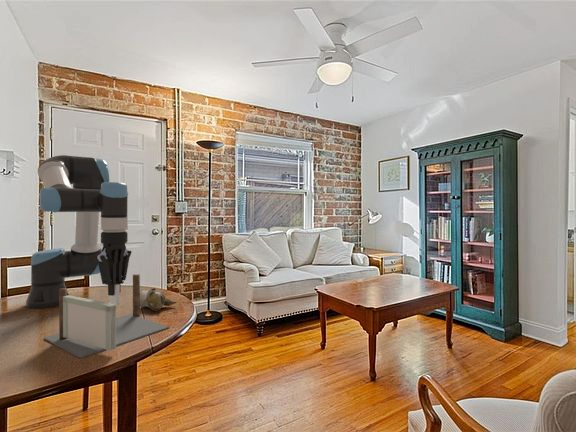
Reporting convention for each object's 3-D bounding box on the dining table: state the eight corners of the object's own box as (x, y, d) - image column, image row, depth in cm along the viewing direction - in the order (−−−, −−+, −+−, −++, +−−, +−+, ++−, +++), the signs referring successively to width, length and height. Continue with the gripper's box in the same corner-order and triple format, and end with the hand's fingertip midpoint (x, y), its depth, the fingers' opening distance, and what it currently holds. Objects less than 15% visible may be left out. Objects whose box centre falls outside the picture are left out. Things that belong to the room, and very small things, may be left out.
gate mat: (44, 339, 101) (44, 337, 101) (129, 315, 125) (129, 314, 125) (80, 358, 88) (80, 356, 88) (169, 328, 111) (169, 326, 111)
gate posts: (57, 340, 100) (57, 289, 100) (137, 315, 125) (136, 273, 125) (61, 342, 99) (61, 289, 99) (141, 316, 124) (141, 274, 123)
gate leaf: (63, 336, 99) (62, 296, 99) (69, 334, 101) (69, 295, 101) (109, 350, 89) (109, 306, 89) (115, 348, 91) (115, 304, 91)
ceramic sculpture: (150, 283, 141) (178, 288, 136) (150, 302, 142) (177, 308, 136) (130, 288, 132) (159, 294, 126) (129, 309, 132) (158, 316, 126)
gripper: (119, 229, 110) (119, 298, 111) (87, 232, 98) (87, 309, 98) (138, 230, 109) (138, 300, 109) (108, 232, 96) (108, 311, 97)
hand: (114, 304), depth 104 cm, fingers closed
